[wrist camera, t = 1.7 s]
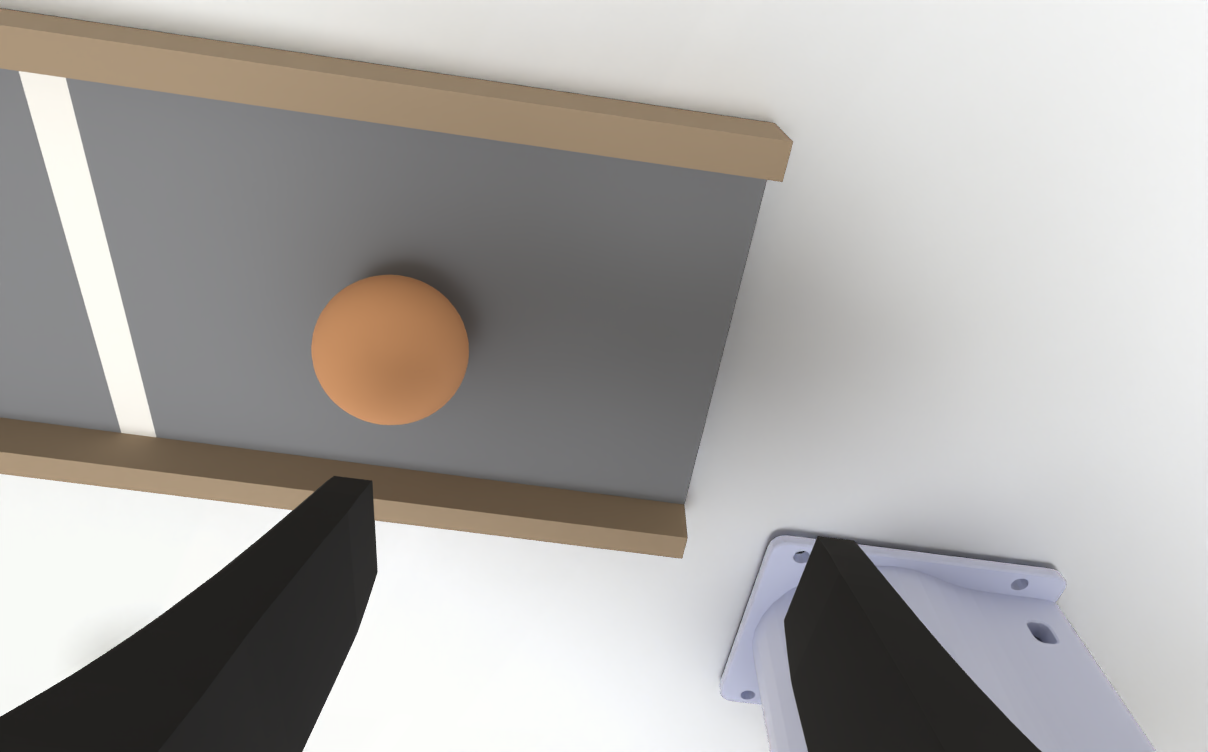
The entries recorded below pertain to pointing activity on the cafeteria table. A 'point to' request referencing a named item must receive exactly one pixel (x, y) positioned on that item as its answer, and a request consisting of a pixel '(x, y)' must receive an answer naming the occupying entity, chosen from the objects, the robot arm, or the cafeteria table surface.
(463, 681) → the cafeteria table surface
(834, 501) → the cafeteria table surface
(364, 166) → the lane
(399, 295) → the ball
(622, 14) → the cafeteria table surface
